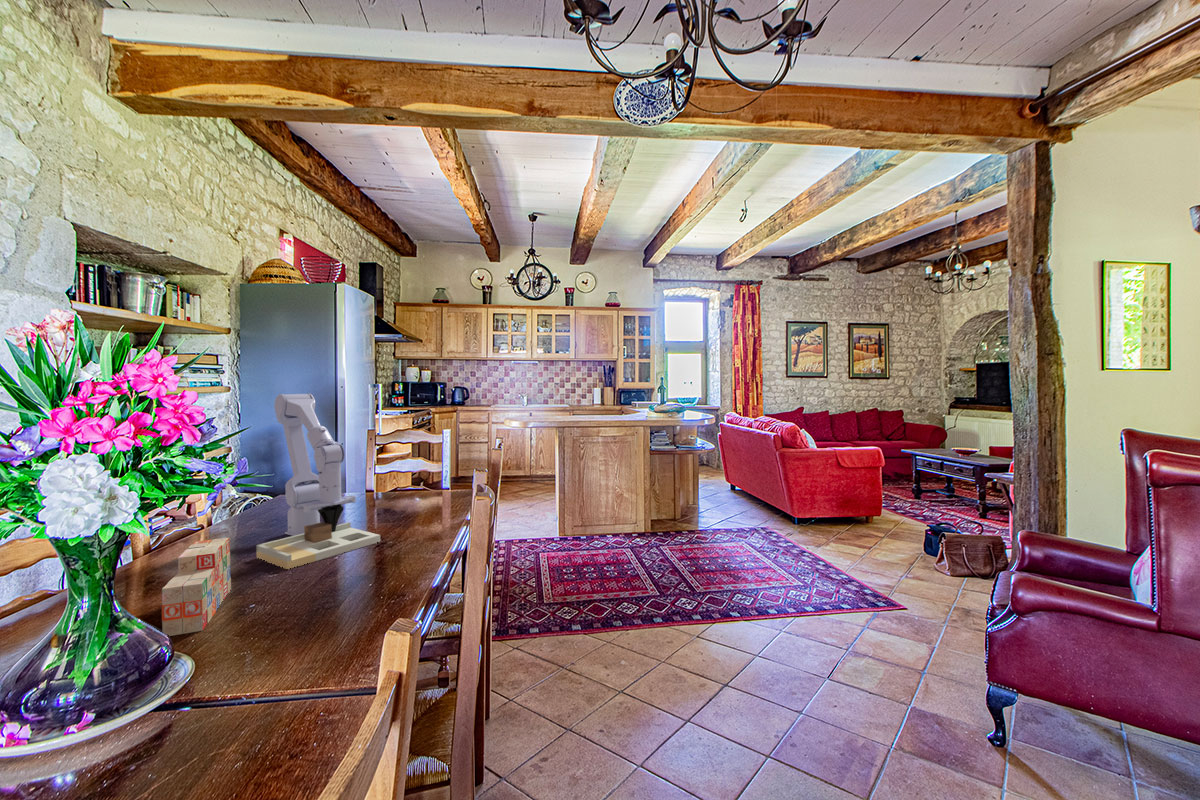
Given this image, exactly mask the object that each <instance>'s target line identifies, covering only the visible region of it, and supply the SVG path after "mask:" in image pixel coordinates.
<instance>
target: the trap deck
mask: <svg viewBox="0 0 1200 800" xmlns="http://www.w3.org/2000/svg"><path fill="white" fill-rule="evenodd" d="M351 526H352V525H351V522H343V523H340V524H337V526H336V530H335V532H332V538H331V539H327V540H323V541H320V542H316V543H313V542H310V541H306V540H305V533H303V534H299V535H295V536H291V535H290V536H287V537H284V538H280V539H276V540H271V541H266V542H263V543H259V544H256V546H255V547H256V548H255V550H256V559H258V558H259V559H258V560H260V559H262V560H261V561H263V560H265V561H264V562H266V561H267V562H266V563H269V564H271V563H272V565H274V564H275V566H277V567H279V566H280V568H282V567H283V568H282V569H285V570H287V569H288V570H291V569H295V568H297V566H298V567H301V566H304V564H305V565H307V563H308V564H311V563H314V562H317V561H321V560H324V559H327V558H331V557H334V556H338V555H340V554H344V552H345V553H347V552H351V551H354V550H357V549H361V548H363V547H368V546H371V545H373V544H377V542H378V543H380V542H381V534H377V533H373V532H369V531H365V530H363V529H362V530H361V529H359V528H355V527H354V528H353V527H351ZM294 567H295V568H294ZM290 568H291V569H290Z"/></svg>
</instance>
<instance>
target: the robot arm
mask: <svg viewBox="0 0 1200 800" xmlns="http://www.w3.org/2000/svg"><path fill="white" fill-rule="evenodd" d="M273 407H274V411H275V416H276V417H275V418H276V420H277V422H278V423H279V424H281V425H283V431H284V435H285V441H286V446H287V449H288V453H289V460H290V464H291V465H290V466H291V470H292V474H293V476H292V477H291V478H290V479H288V480H287V481H286V483H285V486H284V487H285V495H284V496H285V502H286V503H287V505H288V506H290V507H289V509H288V511H287V531H285V532H284V534H285V535H289V536H290V537H291V536H295V535H299V534H303V533H304V526H307V525H312V524H316V523H320V522H321V518H322V520H323V523H327V524H331V525H332V532H335V530H336V526H337V525H338V523H339V519H340V516H341V514H342V513H343V512H344V506H342V505H347V504H351V503H352V504H354V503H357V501H356V500H357V499H356V495H346V496H342V472H341V471H342V470H341V468H342V466H341V463H343V462H344V459H345V457H346V456H345V450H344V447H343V445H342V443H340V442H338V441H335V440H334V439H333V437H332V435H331V433H330V432H329V430H328V428H327V427H325V426H323V425H321V423H320V421H319V419H318V417H317V413H316V412H315V410H316V400H315V397H314V396H313V394H312V393H310V392H309V393H296V394H295V393H293V394H291V393H288V394H287V393H284V394H283V393H279V394H277V396H276V398H275V400H274V406H273ZM303 426H304V427H305V429H306V430H307V431H308V432H307V434H306V437H307V440H308V442H309V443H310V445H311V447H312V449H313V451H314V454H313V458H314V461H315V465H316V471H317V472H318V474H316V473H315V472H312V467H311V462H310V459H309V458H310V457H309V453H308V449H307V448H308V447H307V444H306V439H305V435H304V429H303Z"/></svg>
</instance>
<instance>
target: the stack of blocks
mask: <svg viewBox="0 0 1200 800" xmlns="http://www.w3.org/2000/svg"><path fill="white" fill-rule="evenodd" d="M177 571H178V572H177V573H176V574H175V575H174V577H172V578H171V579H170V580H169V581H168V582H167V583H166V585H165V586H163V587H162V589H161V597H162V598H161V603H162V605H161V626H162V627H161V629H162V633H163V632H164V633H166V634H168V635H169V636H168V637H171V636H172V637H173V636H177V635H178V636H179V635H185V634H190V633H196V632H202V631H204V629H205V627H206V626H207V624H209V622H210V621H211V620H212V618H213V616H214V615H215V614H216V613H217V610H218V609H219V608H220V606H221V604H222V603H223V602H224V600H225V599H226V598H225V597H227V596H228V595H229V594H230V592H231V591H232V578H231V544H230V537H223V538H215V539H205V540H204V539H203V540H198V541H194V543H193V544H191V545H189V546H188V547H187V549H185V550H184V551H183V552H182V553H181V554H180V555H179V556H178V557H177ZM230 590H231V591H230ZM228 593H229V594H228ZM227 594H228V595H227ZM226 595H227V596H226ZM223 599H224V600H223ZM222 601H223V602H222ZM221 602H222V603H221ZM219 605H220V606H219ZM217 608H218V609H217Z"/></svg>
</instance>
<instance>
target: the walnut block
mask: <svg viewBox="0 0 1200 800" xmlns="http://www.w3.org/2000/svg"><path fill="white" fill-rule="evenodd" d="M304 533H305V540H306V541H310V542H313V543H316V542H320V541H323V540H327V539H331V538H332V525H331V524H327V523H325V522H324V521H323V522H322V521H320V523H316V524H312V525H307V526H304Z"/></svg>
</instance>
